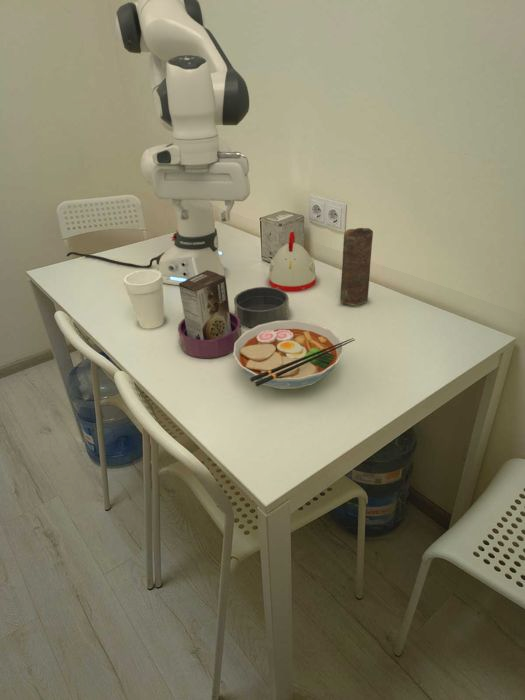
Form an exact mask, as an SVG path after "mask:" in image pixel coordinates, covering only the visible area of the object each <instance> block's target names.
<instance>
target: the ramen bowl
mask: <svg viewBox="0 0 525 700" xmlns="http://www.w3.org/2000/svg"><path fill="white" fill-rule="evenodd" d="M355 340H356V339H355V338H353V337H352V338H350V339H346V340H344V341H342V339H341V338H340V337H339V336H338V335H337V334H336V333H335V332H334V331H333V330H332V329H330V328H327V327H325V326H322V325H320V324H318V323H315V322H311V321H304V320H299V319H290V320H287V319H286V320H285V321H274V322H270V323H265V324H261V325H258V326H256V327H254V328H249V329H248V330H246V331H245V332H243V333H242V335H241V336H240V338H239V339H238V340H237V341H236V342H235V344H234V351H232V352H233V353H232V354H233V355H232V356H234V358H235V360H236V361H237V363H238V365H239V367H241V369H242V371H243V372H244V373H245V374H246V375H247V376H249V380H250V382H252V383H253V382H254V384H255V387H260V386H262V385H263V386H266V387H270V388H274V389H279V390H288V389H290V390H291V389H292V390H293V389H301V388H304V387H309V386H311V385H314V384H316V383H318V382H319V381H320V380H322V379H323V378H324V377H326V376H327V375H329V374H330V372H332V371H333V370H334V369H335V367H336V365H337V364H338V362H339V360H340V359H341V357H342V355H343V353H344V348H343V346H345V345H347V344H350V343H352V342H355Z"/></svg>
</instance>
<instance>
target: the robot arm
mask: <svg viewBox="0 0 525 700" xmlns="http://www.w3.org/2000/svg"><path fill="white" fill-rule="evenodd" d="M115 30H116V31H115V32H116V34H117V37H118V39H119V41H120V42H121V45H123V48H124V49H125V50H126V51H127V52H129V53H130V54H131V53H132V54H142V53H149V56H148V71H149V81H150V88H151V93H152V97H153V102H154V106H155V112H156V116H157V121H158V122H159V123H160V125H161V126H162V127H163V128H164V129H166V130H167V131H170V132H172V141H173V143H171V142H170V143H162V144H159V145H154V146H152V147H150V148H147V149H145V150H144V151H143V154H141V155H142V156H141V159H140V171H141V173H142V176H143V178H144V179H145V181H146V182H147V183H148V184H149V185H150V186H152V187H153V193H154V195H155V196H156V198H157V199H159V200H168V201H169V203H170V204H171V205H170V206H171V207H172V209H173V213H174V217H175V221H176V226H177V229H176V230H175V232H174V233H173V234H172V236H171V237H170V240H171V242H173V241H174V243H173V244H172V245H171V246H170V247H169V248H168V249H167V250H166V251H164V252H162V253H160V254H158V255H157V256H156V257H155V256H154V257H152V258H151V259H150V260H149V264H148V265H138V264H135V263H130V262H123V261H119V260H115V259H110V258H107V257H103V256H98V255H94V254H88V253H81V252H80V253H79V252H75V251H70V252H67V254H66V257H70V256H71V255H74V256H78V257H86V258H93V259H98V260H102V261H106V262H109V263H114V264H118V265H121V266H127V267H134V268H138V269H139V268H141V269H143V268H144V269H149V268H151V267H152V265H153V262H154V261H156V265H157V266H158V268H157V269H155V270H156V271H159V272H160V273H161V274H162V278H163V284H169V285H174V286H179V283H181V282H183V281H185V280H187V279H189V278H192V277H194V276H196V275H198V274H200V273H202V272H204V271H206V270H209V271H212V272H215V273H217V274H219V275H222V276H225V275H226V271H225V269H224V266H223V263H222V260H221V256H220V255H223V253H222V251H220V250H219V236H218V230H217V228H216V226H215V225H216V223H215V215H214V207H213V204H212V202H211V201H216V202H217V201H218V202H219V201H220V202H224V206H225V207H226V209H225V210H223V211H222V212H221V213H220V217H221V219H220V220H221V222H222V223H223V222H224V223H225V222H228V223H229V222H230V220H231V211H232V209H233V207H234V205H235V202H245V201H246V200H247V199H248V198H249V196H250V194H251V186H250V179H249V170H250V167H249V165H250V164H249V159H248V157H246V155H245V154H242V153H241V152H240V151H232V149H231V147H230V145H229V144H228V143H227V142H226V141H225V140H223V139H222V138H219V131H218V129H217V126H238V125H239V124H240V123H241V122H242V121H243V120H244V118H245V117H246V116H247V114H248V112H249V110H250V94H249V89H248V85H247V83H246V80H245V79H244V77H243V76H242V75H241V74H240V73H239V72H238V71H237V70H236V69H235V68H234V66H233V65H232V63H231V62H230V60H229V58H228V57H227V55H226V54H225V52H224V51H223V49H222V47H221V45H220V43H219V42H218V40H217V39H216V37H215V36H214V35H213V33H212V32H211V31H210V29H208V28H207V27H206V18H205V15H204V11H203V9H202V7H201V4H200V2H199V0H137V1H135V2H132V1H129V2H126V3H124V4H121V5H120V6H119V7H118V9H117V10H116V17H115Z"/></svg>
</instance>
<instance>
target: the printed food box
mask: <svg viewBox="0 0 525 700" xmlns="http://www.w3.org/2000/svg"><path fill="white" fill-rule="evenodd" d="M226 278H227V277H226V276H225V275H224V276H222V275H219V274H217V273H215V272H212V271H209V270H206V271H204V272H202V273H200V274H198V275H196V276H194V277H192V278H189V279H187V280H185V281H183V282H181V283H179V285H178V287H179V292H180V298H181V305H182V310H183V311H182V312H183V316H184V318H185V324H186V329H187V336H188V337H190V338H193V339H198V340H210V339H217V338H220V337H223V336H226V335H228V334H230V333H231V332H232V331H231V322H230V313H229V312H230V305H229V304H230V303H229V295H228V286H227V279H226Z"/></svg>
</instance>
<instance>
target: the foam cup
mask: <svg viewBox="0 0 525 700" xmlns="http://www.w3.org/2000/svg"><path fill="white" fill-rule="evenodd" d="M156 270H157V269H140V270H136V271H133V272H130V273H128V274H127V275H125V276H124V278H123V279H122V281H123V285H124V289H125V290H126V292H127V294H128V297H129V300H130V303H131V305H132V308H133V311H134V314H135V316H136V319H137V321H138V324H139V326H140V327H141V328H143V329H149V330H150V329H156V328H159V327H160V326H162V325H163V324H164V323H165V308H164V307H165V305H164V286H163V285H164V283H163V278H162V274H161V273H160V272H159V271H156Z"/></svg>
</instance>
